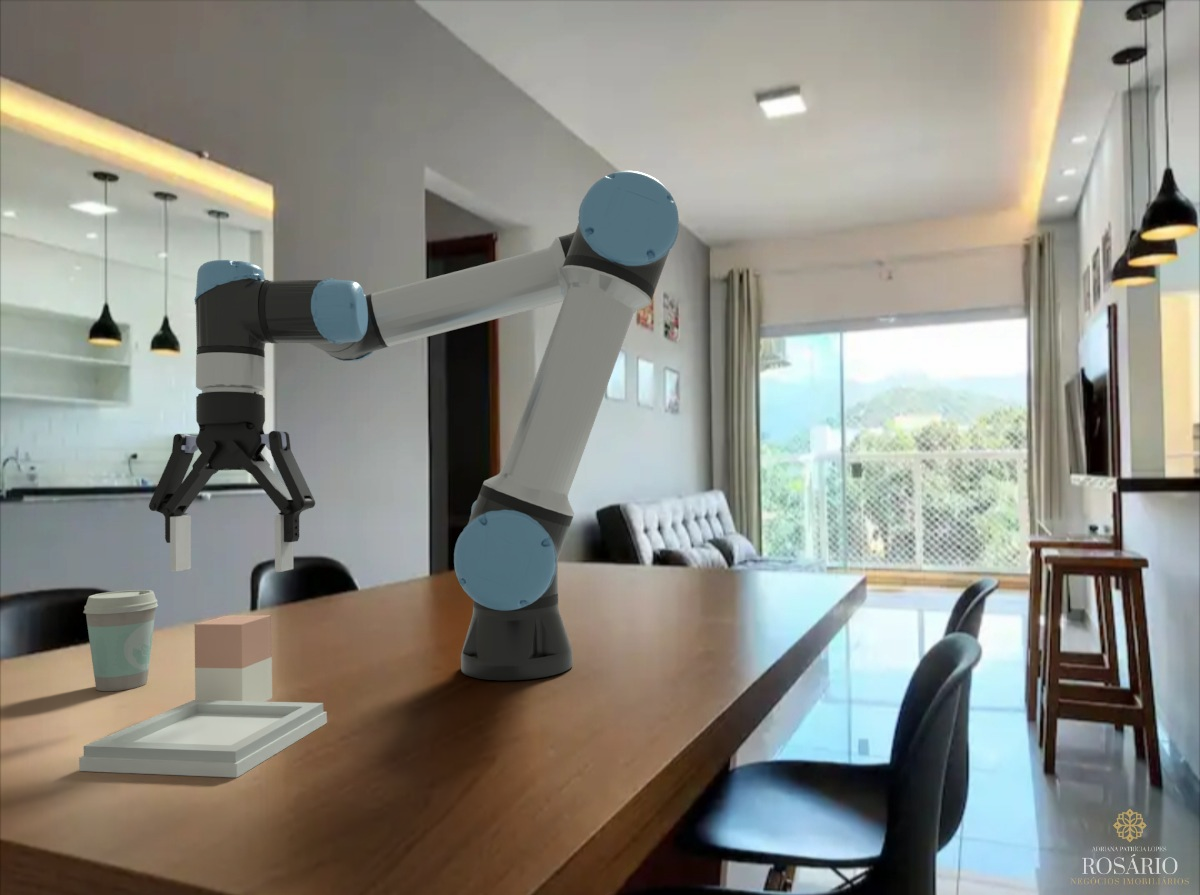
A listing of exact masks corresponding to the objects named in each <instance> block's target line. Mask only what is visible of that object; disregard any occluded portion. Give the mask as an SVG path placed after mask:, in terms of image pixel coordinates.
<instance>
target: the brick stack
mask: <svg viewBox="0 0 1200 895" xmlns="http://www.w3.org/2000/svg"><path fill="white" fill-rule="evenodd" d="M272 629H273V628H272V615H271V614H270V615H268V614H267V615H263V614H262V615H261V614H260V615H254V614H252V615H250V614H249V615H245V614H244V615H242V614H241V615H240V614H239V615H236V614H235V615H233V614H231V615H227V614H226V615H223V616H219V617H215V618H213V619H209V620H205V621H201V622H197V623H194V694H195V695H194V698H195V699H194V700H221V701H262V702H269V701H270V700H271V699H273V652H272V650H273V649H272V648H273V646H272V645H273V644H272V642H273V640H272V639H273V638H272V636H273V634H272Z"/></svg>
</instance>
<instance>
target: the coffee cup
mask: <svg viewBox="0 0 1200 895" xmlns="http://www.w3.org/2000/svg"><path fill="white" fill-rule="evenodd" d="M157 607H159V604H158V599H157V598H156V595H155V591H153V590H150V589H148V590H147V589H131V590H118V591H109V592H101V593H95V594H92V595H89V596H88V598H87V601H86V604H85V605H84V609H83V612H82V613H83V614H85V616H86V617H85V618H86V625H87V630H88V631H87V632H88V639H89V640H88V641H89V646H90V653H91V654H90V655H91V661H92V669H93V677H94V682H95V689H96V690H97V691H99V692H121V691H127V690H131V689H136V688H139V687H142V686H145V685H147V683H148V677H149V671H150V670H149V669H150V661H151V654H152V653H151V652H152V644H153V636H154V626H155V617H156V609H157Z"/></svg>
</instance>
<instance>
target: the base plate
mask: <svg viewBox="0 0 1200 895" xmlns="http://www.w3.org/2000/svg"><path fill="white" fill-rule="evenodd" d="M327 714H328V712H327V711H324V703H323V702H301V701H300V702H297V701H296V702H295V701H294V702H293V701H266V702H262V701H221V700H195V699H192V700H191V701H187V702H186V703H184V704H181V705H179V706H177V707H174V708H171V709H169V710H167V711H164V712H162V713H159V714H157V715H154V716H153V717H149V718H148V719H145V720H143V721H140V722H138V723H135V724H133V725H131V726H128V727H126V728H123V729H121V730H119V731H115V732H114V733H111V734H109V735H107V736H104V737H102V738H100V739H99V738H98V739H97V740H95V741H93V742H90V743H88V744H84V745H83V755H82V756H80V757H79V759H78V771H79V772H94V773H95V772H98V773H118V774H119V773H121V774H142V775H144V774H145V775H147V774H148V775H164V776H165V775H169V776H189V777H190V776H191V777H192V776H193V777H195V776H196V777H213V778H214V777H216V778H217V777H218V778H238V777H240V776H242V775H244V774H245V773H247V772H249V771H250V770H252V769H254V768H255V767H256V766H258V765H260V764H262V763H263V762H265V761H267V760H268V759H270V758H272V757H273V756H275V755H276V754H279V753H280V752H281V751H283V750H284V749H286V748H288V747H290V746H291V745H293V744H295V743H296V742H298V741H300V740H301V739H302V738H305V737H306V736H308V735H310V734H311V733H313V732H314V731H316V730H318V729H319V728H321V727H323V726H325V725H326V724H327V723H328V715H327Z"/></svg>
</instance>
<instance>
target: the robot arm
mask: <svg viewBox="0 0 1200 895" xmlns="http://www.w3.org/2000/svg"><path fill="white" fill-rule="evenodd" d="M670 192H671V191H669V190H668V188H667V187H666V186H665V185H664V184H663V183H662V182H660V181H659V180H658V179H656V178H655V177H653V176H651V175H649V174H646V173H644V172H640V171H635V170H634V171H633V170H622V171H621V170H620V171H615V172H613V173H609V174H608V175H607V174H606V175H605V176H603V177H601V178H599V179H598V180H597V181H596V182H595V183H594V184H592V186H591V187H590V188H589V189H588V190H587V192H586V193H585V195H584V197H583V198H582V201H581V202H580V206H579V208H578V218H577V219H578V223H577V224H578V225H577V227H576V229H575V231H573V232H572V233H568V234H566V235H562V236H558V237H555V238H554V239H553V241H552V243H551V244H550V246H549V247H546V248H541V249H537V250H533V251H530V252H525V253H522V254H518V255H514V256H510V257H507V258H503V259H500V260H499V259H498V260H496V261H495V260H494V261H491V262H488V263H484V264H483V263H482V264H480V265H477V266H471V267H468V268H465V269H461V270H458V271H457V270H456V271H452V272H449V273H446V274H441V275H438V276H434V277H429V278H426V279H422V280H418V281H414V282H411V283H407V284H403V285H398V286H394V287H391V288H387V289H383V290H380V291H375V292H372V293H370V294H365V292H364V289H363V287H362V286H361V285H360V283H358V282H357V281H354V280H343V279H341V280H340V279H335V278H326V279H325V278H324V279H308V280H307V279H305V280H304V279H303V280H302V279H300V280H299V279H297V280H295V279H294V280H269V279H267V278H265V273H264V270H263V269H262V268H261V266H259V265H256V264H254V263H251V262H247V261H243V260H230V259H215V260H210V261H206V262H204V263H202V264H201V265H200V267H199V268H198V269H197V276H196V287H195V288H196V290H195V296H194V305H195V322H196V323H195V326H196V327H195V329H196V331H195V332H196V352H195V354H196V355H195V388H197V390H200V391H201V392H200V393H198V395H197V396H195V397H196V398H195V399H196V400H195V404H196V405H195V406H196V408H195V409H196V413H195V414H196V416H195V418H196V419H195V420H196V423H197V424H198V428H199V431H198V434H197V435H194V434H186V433H176V434H174V435H173V440H172V449H171V454H170V455H169V459H168V460H167V463H166V464H165V467H164V470H163V472H162V474H161V477H160V479H159V481H158V483H157V486H156V488H155V490H154V492H153V495H152V497H151V499H150V502H149V504H148V508H149V510H150V511H151V512H152V511H153V512H158V513H160V514H162V515H163V516H164V533H165V534H164V539H165V541H166V543H167V544H169V548H170V549H169V572H170V573H171V572H173V573H174V572H181V571H187V570H191V569H192V518H191V517H192V516H191V515H188V512H187V510H188V508H189V507H190V506H191V505H192V503H193V502H194V500H195V499H196V498H197V496H198V495H199V494H200V493H201V491H202V490H203V488H204V487H205V486H206V484H207V483H208V482H209V480H210V479H211V477H212V476H214V475H215V474H216V473H218V472H219V471H245V472H247V473H248V474H251V476H252V477H253V478H254V480H255V481H256V482H257V483H258V485H259V486H260V487H261V488H262V490H263V491H264V492H265V493H266V495H267V496H268V497H269V499H270V500H271V502H273V503H274V505H275V506H276V508H278V510H279V511H280V512H278V515H274V572H275V573H276V572H277V573H281V572H285V571H291V570H294V543H295V542H299V539H300V515H301V513H302V512H304V511H306V510H309V509H313V508H314V507H315V506H316V500H315V498H314V496H313V494H312V491H311V490H310V487H309V485H308V483H307V481H306V480H305V477H304V475H303V473H302V471H301V469H300V467H299V465H298V462H297V460H296V458H295V456H294V454H293V452H292V449H291V440H290V434H289V433H288V432H287V431H280V430H271V431H270V432H269V433H265V432H264V425H265V421H266V398H265V397H264V396H263V395H262V394H261V393H260V392H262V391H263V390H265V358H266V356H265V347H266V344H309V345H311V346H313V347H315V348H316V349H320V350H321V351H323V352H325V353H326V354H328V355H329V356H330V357H332V358H334V359H336V360H340V361H344V362H358V361H362V360H364V359H366V358H368V357H369V356H371V355H372V354H373V353H374V352H376V351H380V350H382V349H385V348H389V347H393V346H397V345H400V344H404V343H409V342H412V341H416V340H419V339H423V338H424V339H425V338H426V337H427V338H428V337H431V336H435V335H439V334H442V333H447V332H450V331H454V330H458V329H462V328H466V327H470V326H474V325H477V324H482V323H485V322H489V321H493V320H497V319H500V318H505V317H507V316H513V315H516V314H520V313H524V312H528V311H531V310H532V311H533V310H535V309H536V310H537V309H539V308H542V307H543V308H544V307H546V306H550V305H555V304H559V303H562V304H561V307H560V309H559V312H558V315H557V316H556V317H557V318H556V320H555V323H554V326H553V328H552V331H551V335H550V337H549V339H548V342H547V344H546V345H547V346H546V348H545V350H544V353H543V356H542V358H541V361H540V364H539V366H538V370H537V373H536V375H535V378H534V381H533V383H532V386H531V389H530V390H529V395H528V397H527V400H526V402H525V405H524V408H523V410H522V412H521V416H520V418H519V421H518V424H517V427H516V430H515V433H514V435H513V438H512V441H511V444H510V446H509V448H508V452H507V454H506V456H505V459H504V462H503V466H502V468H501V470H500V472H498V474H496V475H494V476H492V477H489V478H488V479H485V480H484V481H483V483H482V486H481V488H480V491H479V493H478V496H477V499H476V500H475V501H474V502H473V503H472V506H471V511H470V512H471V513H470V516H469V519H468V520H469V521H468V522H467V525H466V526H465V527H464V528H463V530H462V532H460V534H459V536H458V538H457V540H456V542H455V546H454V549H453V551H454V552H453V564H454V566H453V567H454V571H455V575H456V579H457V581H458V582H459V585H460V586H461V588H462V589H463V591H464V592H465V593H466V594H467V596H468V597H469V598H470V599H472V616H471V620H470V623H469V626H468V630H467V633H466V637H465V641H464V643H463V645H462V646H463V647H462V650H461V654H460V663H461V664H460V666H461V667H460V668H461V669H460V671H461V672H462V674H464V675H465V676H468V677H471V678H473V679H474V678H475V679H479V680H488V681H523V680H534V679H541V678H547V677H550V676H556V675H560V674H561V673H564V672H567V671H569V670H570V669H572V667H573V664H574V663H573V662H574V661H573V648H572V645H571V641H570V639H569V636H568V633H567V630H566V626H565V624H564V621H563V619H562V615H561V613H560V609H559V608H560V607H559V580H558V578H559V577H558V576H559V574H558V573H559V572H558V561H559V557H560V555H561V552H562V549H563V546H564V543H565V540H566V538H567V534H568V532H569V530H570V527H571V524H572V522H573V518H574V515H575V512H574V510H573V507H572V506H571V503H570V501H569V497H568V496H569V494H570V490H571V487H572V484H573V481H574V480H575V476H576V473H577V471H578V468H579V466H580V463H581V460H582V456H583V455H584V451H585V449H586V446H587V443H588V442H589V441H588V440H589V438H590V435H591V432H592V429H593V427H594V425H595V421H596V418H597V416H598V412H599V410H600V407H601V404H602V402H603V399H604V396H605V394H606V392H607V391H606V390H607V388H608V385H609V382H610V379H611V377H612V375H613V371H614V369H615V366H616V363H617V360H618V357H619V355H620V352H621V349H622V347H623V343H624V341H625V338H626V335H627V333H628V331H629V327H630V325H631V321H632V318H633V317H634V315H635V313H636V312H638V311H640V310H642V309H645V308H647V307H649V306H651V302H652V300H653V298H654V297H653V296H654V295H655V292H656V289H657V286H658V283H659V280H660V278H661V275H662V272H663V270H664V267H665V265H666V261H667V259H668V256H669V254H670V250H671V249H672V248H673V247H674V245H675V244H676V241H677V238H678V234H679V230H680V224H679V211H678V207H677V203H676V201H675V199H674V197H673V196H672V194H671V193H670ZM265 447H266V448H267V449H268V451H270V454H271V456H272V459H273V461H274V463H275V465H276V468H277V470H278V472H279V474H280V476H281V478H282V480H283V482H284V483H283V482H282V481H281V480H280V478H279V477H278V476H277V474H276V473H275V472H274V471H273V470H272V468H271V467H270V466H271V464H270V463H269V461H268V460H267V459H266V458H265V456H264V455H263V454H262V451H263V450H264V448H265ZM198 450H199V451H200V454H199V456H198V457H197V458H196V460H195V461H194V463H193V464H192V465H191V463H192V461H193V459H194V455H195V452H196V451H198ZM190 465H191V466H192V469H191V470H190V472H189V473H188V475H187V472H188V470H189V468H190Z"/></svg>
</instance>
